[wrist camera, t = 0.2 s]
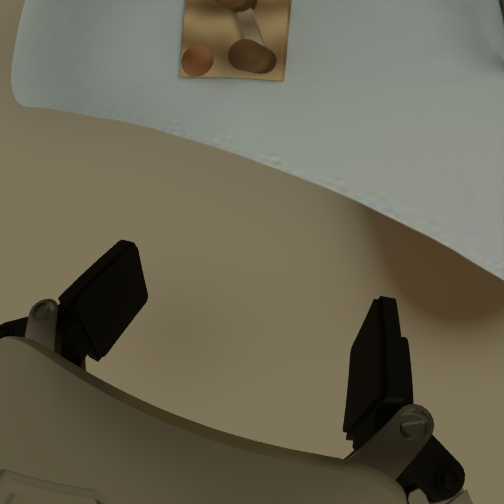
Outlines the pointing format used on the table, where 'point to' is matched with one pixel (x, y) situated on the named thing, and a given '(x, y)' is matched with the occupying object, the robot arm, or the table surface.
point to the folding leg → (249, 40)
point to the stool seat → (230, 38)
